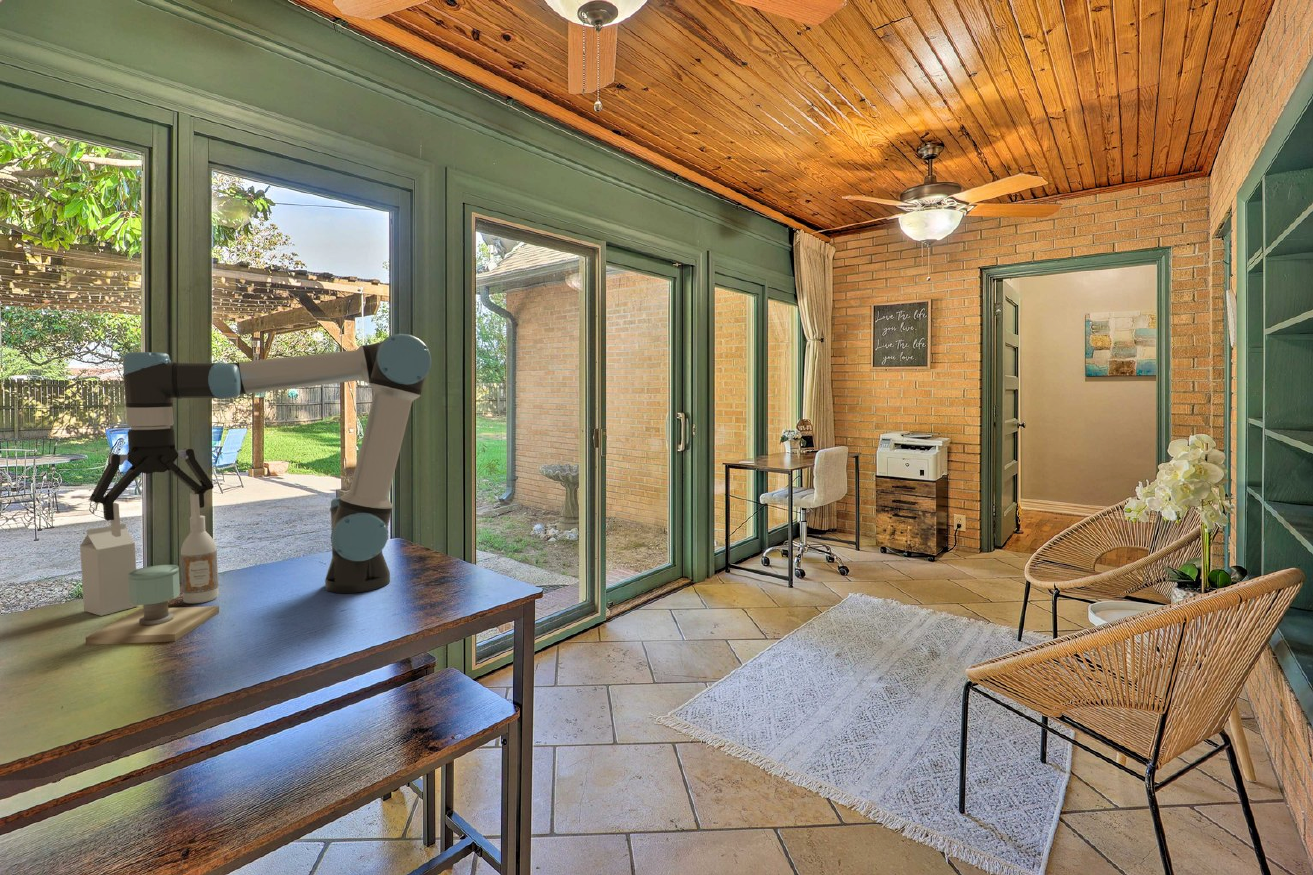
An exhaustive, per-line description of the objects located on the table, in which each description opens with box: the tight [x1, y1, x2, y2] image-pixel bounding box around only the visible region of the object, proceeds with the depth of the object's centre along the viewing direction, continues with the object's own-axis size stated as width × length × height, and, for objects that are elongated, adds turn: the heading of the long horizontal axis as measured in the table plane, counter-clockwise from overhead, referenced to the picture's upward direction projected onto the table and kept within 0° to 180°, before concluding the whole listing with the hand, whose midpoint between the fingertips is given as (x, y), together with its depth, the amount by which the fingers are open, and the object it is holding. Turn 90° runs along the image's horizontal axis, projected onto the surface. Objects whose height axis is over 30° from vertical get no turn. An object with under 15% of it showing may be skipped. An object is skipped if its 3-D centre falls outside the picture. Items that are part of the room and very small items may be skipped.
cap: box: [128, 564, 181, 606], centre depth 131 cm, size 8×8×6 cm
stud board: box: [84, 601, 220, 646], centre depth 132 cm, size 16×16×12 cm
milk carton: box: [79, 523, 139, 617], centre depth 142 cm, size 7×7×19 cm
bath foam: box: [180, 514, 220, 605], centre depth 149 cm, size 7×7×20 cm
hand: (157, 529), depth 131 cm, fingers open, 13 cm apart
